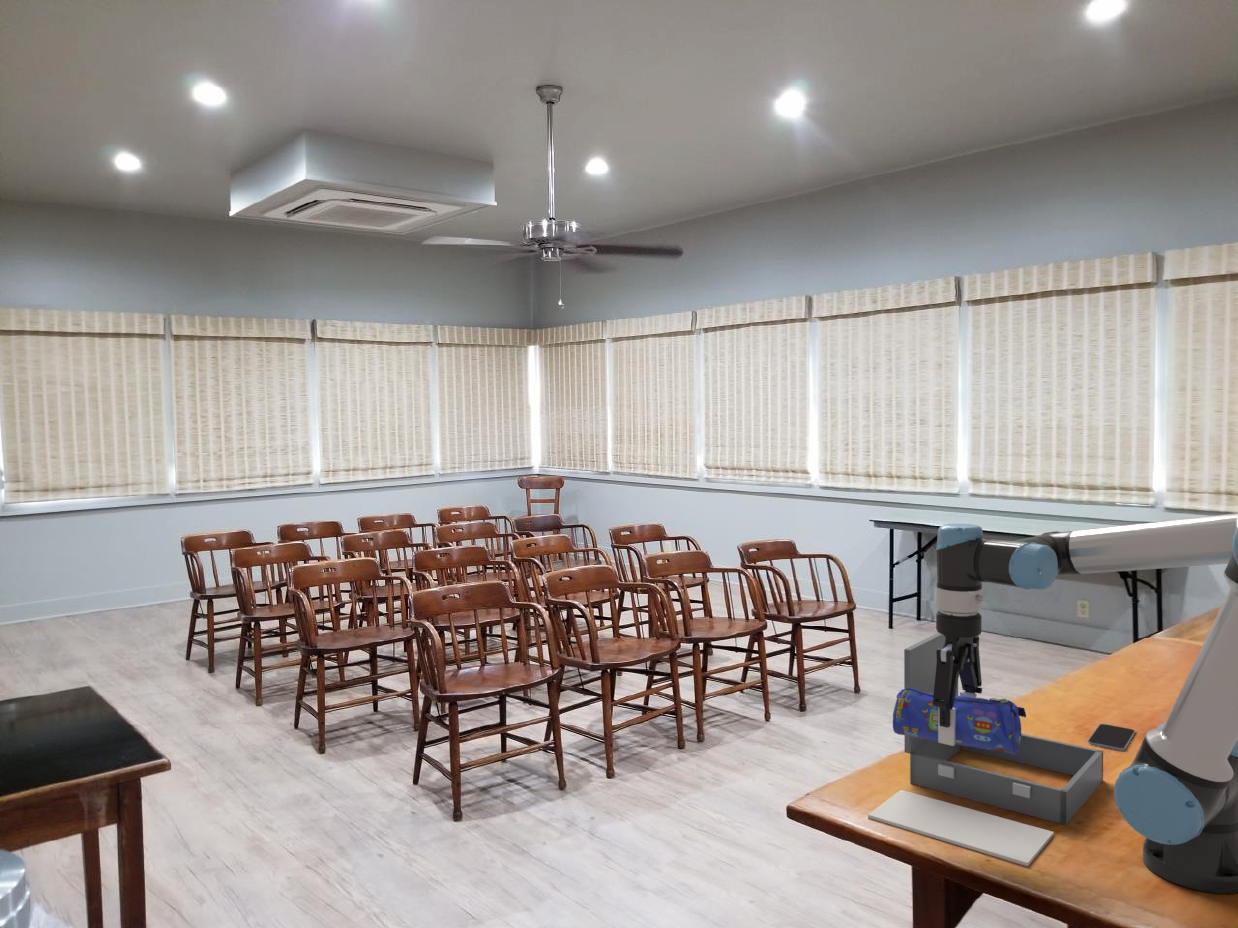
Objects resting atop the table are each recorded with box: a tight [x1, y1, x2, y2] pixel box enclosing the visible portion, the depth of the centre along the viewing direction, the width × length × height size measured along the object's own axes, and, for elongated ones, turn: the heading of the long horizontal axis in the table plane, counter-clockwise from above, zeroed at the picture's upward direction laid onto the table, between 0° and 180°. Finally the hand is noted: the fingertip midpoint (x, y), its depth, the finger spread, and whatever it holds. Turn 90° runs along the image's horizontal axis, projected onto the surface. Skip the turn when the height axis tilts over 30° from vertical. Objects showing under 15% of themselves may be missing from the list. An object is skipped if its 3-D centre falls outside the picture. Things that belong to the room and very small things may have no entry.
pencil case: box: [892, 687, 1027, 755], centre depth 160 cm, size 22×9×10 cm, turn 61°
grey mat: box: [867, 789, 1055, 867], centre depth 161 cm, size 14×28×1 cm, turn 48°
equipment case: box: [903, 632, 1104, 826], centre depth 179 cm, size 26×30×27 cm
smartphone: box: [1087, 723, 1136, 752], centre depth 202 cm, size 7×1×15 cm
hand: (957, 735), depth 161 cm, fingers closed on pencil case, 9 cm apart
